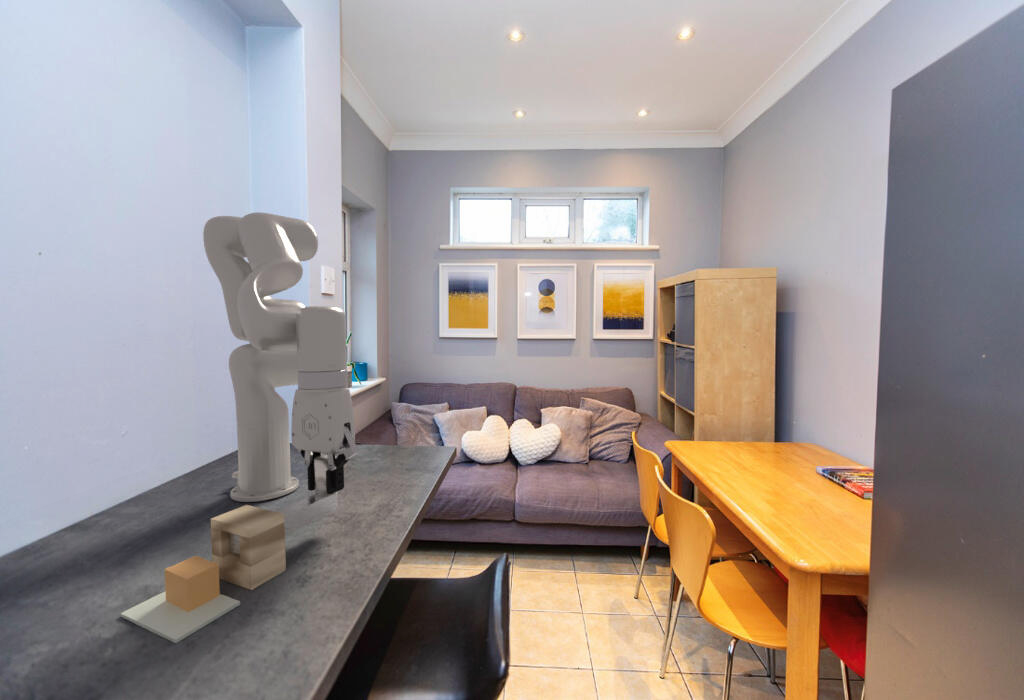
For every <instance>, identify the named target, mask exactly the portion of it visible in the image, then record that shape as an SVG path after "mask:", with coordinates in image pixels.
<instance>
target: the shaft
mask: <svg viewBox="0 0 1024 700" xmlns="http://www.w3.org/2000/svg"><path fill="white" fill-rule="evenodd" d="M335 458H337V456H336V455H335ZM326 470H329V465H328V458H327V454H325V455H324V454H323V456H318V457H316V458H314V474H315V490H314V493H313V494H311V495H308V496H307V497H304V498H301V499H300V500H297V501H295V502H292V503H290V504H288V505H285V506H283V507H281V508H279V509H276V510H274V511H275V512H279V513H283V514H284V526H285V537H287V536H289V535H291V534H292V533H294V532H296V531H298V530H300V529H303V528H304V527H306V526H309V525H311V524H313V523H314V522H317V521H318V520H320V519H322V518H324V517H326V516H328V515H329V514H332V513H334V512H336V511H338V510H339V499H338V498H339V496H338V495H339V494H338V493H339V491H337V492H335V493H333V494H327V490H326ZM230 544H231V552H233V553H236V554H239V555H240V545H239V535H236V534H233V533H230Z"/></svg>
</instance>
